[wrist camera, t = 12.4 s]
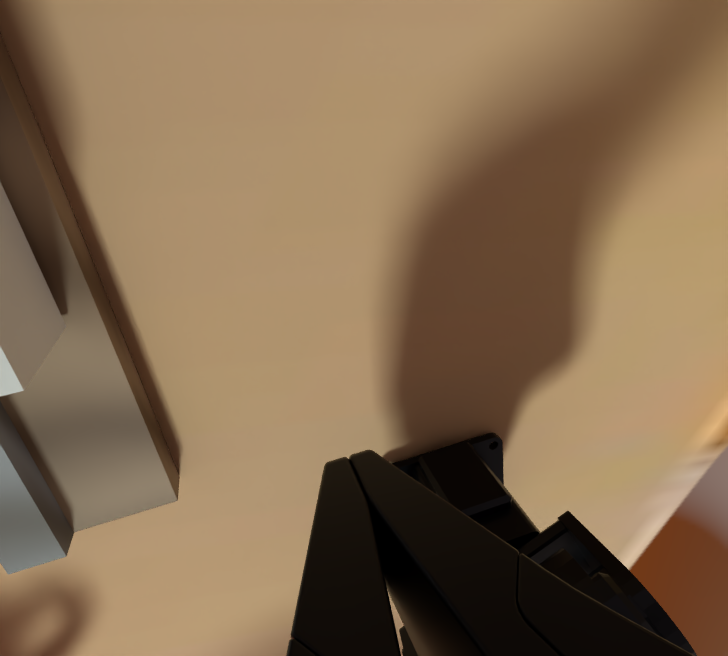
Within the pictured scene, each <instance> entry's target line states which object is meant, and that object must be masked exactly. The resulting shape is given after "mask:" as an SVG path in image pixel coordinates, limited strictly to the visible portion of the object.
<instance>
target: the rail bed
mask: <svg viewBox="0 0 728 656" xmlns="http://www.w3.org/2000/svg"><path fill="white" fill-rule="evenodd" d="M0 182H1V184H2V186H3V188H4V191H5V193H6V195H7V197H8V199H9V202H10V204H11V206H12V208H13V210H14V213H15V215H16V217H17V219H18V221H19V224H20V226H21V228H22V230H23V232H24V235H25V237H26V239H27V241H28V243H29V246H30V248H31V250H32V252H33V254H34V257H35V259H36V261H37V263H38V265H39V268H40V270H41V272H42V274H43V276H44V278H45V281H46V283H47V285H48V287H49V289H50V292H51V294H52V296H53V298H54V300H55V303H56V305H57V307H58V309H59V311H60V314H61V316H62V318H63V320H64V322H65V325H66V328H65V329H64V331H63V332H62V334H61V335H60V337H59V338H58V340H57V341H56V343H55V344H54V346H53V347H52V349H51V350H50V352H49V353H48V355H47V356H46V358H45V359H44V361H43V362H42V364H41V366H40V367H39V369H38V370H37V372H36V373H35V375H34V376H33V378H32V379H31V381H30V382H29V384H28V385H27V387H26V388H25V390H24V391H21V392H16V393H12V394H8V395H4V396H0V563H1V565H2V566H3V568H4V569H5V570H6V572H7V573H8V574H12V573H15V572H18V571H21V570H24V569H28V568H31V567H34V566H37V565H40V564H44V563H47V562H50V561H53V560H56V559H60V558H63V557H66V556H67V553H68V550H69V547H70V544H71V540H72V537H73V534H74V532H77V531H80V530H83V529H87V528H90V527H93V526H96V525H100V524H103V523H106V522H110V521H113V520H116V519H119V518H123V517H126V516H129V515H133V514H136V513H139V512H142V511H146V510H149V509H152V508H156V507H159V506H162V505H165V504H169V503H172V502H175V501H178V490H179V478H180V477H179V474H178V472H177V469H176V467H175V464H174V462H173V459H172V457H171V454H170V452H169V450H168V447H167V445H166V442H165V440H164V437H163V435H162V432H161V430H160V427H159V425H158V422H157V420H156V417H155V415H154V412H153V410H152V407H151V405H150V402H149V400H148V398H147V395H146V393H145V390H144V388H143V385H142V383H141V380H140V378H139V375H138V373H137V370H136V368H135V365H134V363H133V360H132V358H131V355H130V353H129V350H128V348H127V345H126V343H125V341H124V338H123V336H122V333H121V331H120V328H119V326H118V323H117V321H116V318H115V316H114V313H113V311H112V308H111V306H110V303H109V301H108V298H107V296H106V293H105V291H104V288H103V286H102V284H101V281H100V279H99V276H98V274H97V271H96V269H95V266H94V264H93V261H92V259H91V256H90V254H89V251H88V249H87V246H86V244H85V241H84V239H83V236H82V234H81V232H80V229H79V227H78V224H77V222H76V219H75V217H74V214H73V212H72V209H71V207H70V204H69V202H68V199H67V197H66V194H65V192H64V189H63V187H62V184H61V182H60V179H59V177H58V175H57V172H56V170H55V167H54V165H53V162H52V160H51V157H50V155H49V152H48V150H47V147H46V145H45V142H44V140H43V137H42V135H41V132H40V130H39V127H38V125H37V123H36V120H35V118H34V115H33V113H32V110H31V108H30V105H29V103H28V100H27V98H26V95H25V93H24V90H23V88H22V85H21V83H20V80H19V78H18V75H17V73H16V70H15V68H14V66H13V63H12V61H11V58H10V56H9V53H8V51H7V48H6V46H5V43H4V41H3V38H2V36H1V33H0Z"/></svg>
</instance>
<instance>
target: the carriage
mask: <svg viewBox="0 0 728 656" xmlns="http://www.w3.org/2000/svg"><path fill="white" fill-rule="evenodd" d="M65 328H66V325H65V322H64V320H63V318H62V316H61V314H60V311H59V309H58V307H57V305H56V303H55V300H54V298H53V296H52V294H51V292H50V289H49V287H48V285H47V283H46V281H45V278H44V276H43V274H42V272H41V270H40V268H39V265H38V263H37V261H36V259H35V257H34V254H33V252H32V250H31V248H30V246H29V243H28V241H27V239H26V237H25V235H24V232H23V230H22V228H21V226H20V224H19V221H18V219H17V217H16V215H15V213H14V210H13V208H12V206H11V204H10V202H9V199H8V197H7V195H6V193H5V191H4V188H3V186H2V184H1V182H0V396H4V395H8V394H12V393H16V392H21V391H24V390H25V388H26V387H27V385H28V384H29V382H30V381H31V379H32V378H33V376H34V375H35V373H36V372H37V370H38V369H39V367H40V366H41V364H42V362H43V361H44V359H45V358H46V356H47V355H48V353H49V352H50V350H51V349H52V347H53V346H54V344H55V343H56V341H57V340H58V338H59V337H60V335H61V334H62V332H63V331H64V329H65Z"/></svg>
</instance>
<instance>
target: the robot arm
mask: <svg viewBox="0 0 728 656" xmlns="http://www.w3.org/2000/svg"><path fill="white" fill-rule="evenodd" d="M492 442H493V443H492ZM491 443H492V444H491ZM490 444H491V445H490ZM387 589H388V591H387ZM388 592H389V594H390V596H391V598H392V601H393V603H394V605H395V607H396V609H397V611H398V613H399V616H400V618H401V620H402V622H403V624H404V626H403V627H402V628H400V629H399V631H400V636H401V640H402V645H403V649H402V653H403V656H697V655H696V653H695V652H694V650H693V648H692V647H691V645H690V644H689V642H688V641H687V640H686V638H685V637H684V636H683V634H682V633H681V631H680V630H679V629H678V627H677V626H676V625H675V624H674V622H673V621H672V620H671V618H670V617H669V616H668V615H667V613H666V612H665V611H664V610H663V608H662V607H661V606H660V605H659V604H658V602H657V601H656V600H655V599H654V598H653V596H652V595H651V594H650V593H649V592H648V591H647V589H646V588H645V587H644V586H643V585H642V584H641V583H640V582H639V581H638V579H637V578H636V577H635V576H634V575H633V574H632V573H631V572H630V571H629V570H628V569H627V568H626V567H625V566H624V565H623V564H622V563H621V562H620V561H619V560H618V559H617V558H616V557H615V556H614V555H613V554H612V553H611V552H610V551H609V550H608V549H607V548H606V547H605V546H604V545H603V544H602V543H601V542H600V541H599V540H598V539H597V538H596V537H595V536H594V535H592V534H591V533H590V532H589V531H588V530H587V529H586V528H585V527H584V526H583V525H582V524H581V523H580V522H579V521H578V520H577V519H576V518H575V517H574V516H573V515H572V514H571V513H570V512H569V511H567V512H565V513H564V514H562V515H561V516H559V517H558V521H556V522H555V523H554V524H552V525H551V526H549V527H548V528H547V529H545V530H544V531H542V532H541V533H540V531H539V530H538V529H537V527H536V526H535V525H534V524H533V522H532V521H531V520H530V518H529V517H528V516H527V515H526V513H525V512H524V511H523V509H522V508H521V507H520V506H519V504H518V503H517V502H516V500H515V499H514V498H513V497H512V495H511V494H510V493H509V492H508V490H507V489H506V488H505V486H504V481H503V445H502V440H501V439H500V438H499V436H498V435H497V434H495V433H489V434H486V435H482V436H479V437H476V438H473V439H470V440H467V441H463V442H460V443H457V444H454V445H451V446H447V447H444V448H441V449H438V450H435V451H432V452H428V453H425V454H422V455H419V456H416V457H413V458H409V459H406V460H403V461H400V462H397V463H394V464H391V463H390V462H389V461H387V460H386V459H384V458H383V457H381V456H380V455H378V454H377V453H375V452H374V451H372V450H365V451H362V452H359V453H356V454H352V455H351V456H350V457H349V459H348V458H347V457H343V458H339V459H336V460H333V461H329V462H327V463H326V464H325V466H324V470H323V475H322V480H321V485H320V490H319V495H318V500H317V505H316V510H315V515H314V520H313V525H312V530H311V535H310V540H309V545H308V550H307V556H306V561H305V566H304V571H303V576H302V581H301V586H300V591H299V596H298V601H297V606H296V611H295V616H294V621H293V626H292V631H291V638H292V639H291V640H290V641H289V645H288V650H287V655H286V656H401V653H400V648H399V643H398V639H397V634H396V629H395V624H394V620H393V615H392V610H391V605H390V601H389V596H388Z"/></svg>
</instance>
